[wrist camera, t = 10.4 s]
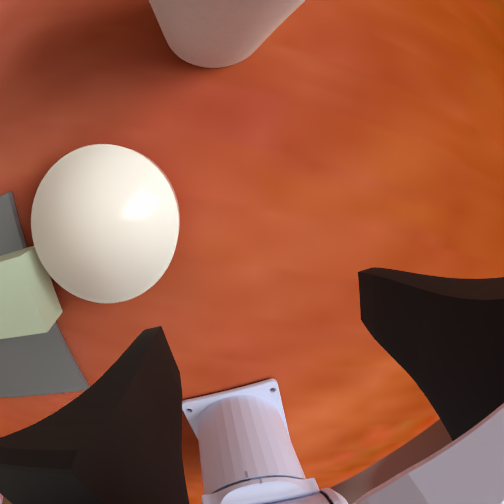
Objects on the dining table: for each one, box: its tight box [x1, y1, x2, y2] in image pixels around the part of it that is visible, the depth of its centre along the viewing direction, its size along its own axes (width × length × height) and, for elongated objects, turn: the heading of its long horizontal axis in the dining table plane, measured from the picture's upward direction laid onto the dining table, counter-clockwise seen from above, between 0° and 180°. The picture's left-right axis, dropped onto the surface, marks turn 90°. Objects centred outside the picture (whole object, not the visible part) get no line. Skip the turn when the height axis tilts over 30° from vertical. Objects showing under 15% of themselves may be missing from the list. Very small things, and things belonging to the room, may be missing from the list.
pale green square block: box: [0, 246, 63, 339], centre depth 16 cm, size 5×5×3 cm
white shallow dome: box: [31, 144, 180, 303], centre depth 17 cm, size 9×9×3 cm
